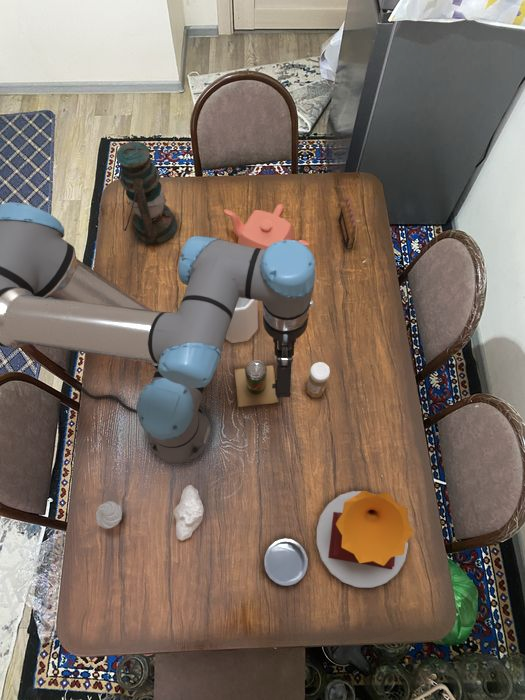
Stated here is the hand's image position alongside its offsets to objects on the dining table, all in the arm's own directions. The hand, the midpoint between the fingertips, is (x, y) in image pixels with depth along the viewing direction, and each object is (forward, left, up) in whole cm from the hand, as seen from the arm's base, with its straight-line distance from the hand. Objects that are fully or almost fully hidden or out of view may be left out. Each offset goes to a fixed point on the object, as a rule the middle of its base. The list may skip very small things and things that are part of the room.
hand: (282, 360), depth 104 cm
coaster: (-6, +4, -29) cm, 30 cm away
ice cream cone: (-35, -30, -29) cm, 54 cm away
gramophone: (+20, -31, -29) cm, 47 cm away
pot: (-6, +44, -29) cm, 53 cm away
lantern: (-39, +51, -29) cm, 71 cm away
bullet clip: (+17, +52, -29) cm, 62 cm away
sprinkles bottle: (+9, +4, -29) cm, 31 cm away
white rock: (-19, -28, -29) cm, 44 cm away
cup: (-12, +21, -29) cm, 38 cm away
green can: (-6, +4, -29) cm, 29 cm away
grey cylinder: (+3, -37, -29) cm, 47 cm away
